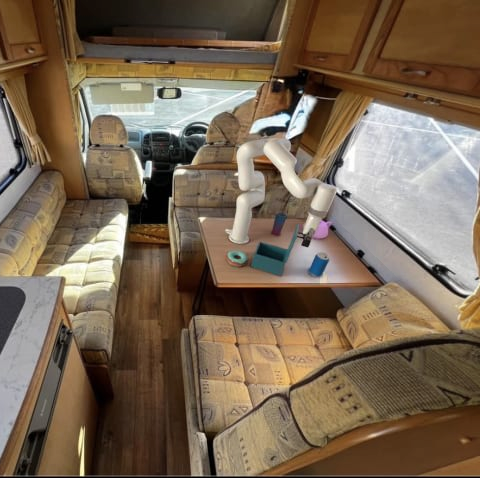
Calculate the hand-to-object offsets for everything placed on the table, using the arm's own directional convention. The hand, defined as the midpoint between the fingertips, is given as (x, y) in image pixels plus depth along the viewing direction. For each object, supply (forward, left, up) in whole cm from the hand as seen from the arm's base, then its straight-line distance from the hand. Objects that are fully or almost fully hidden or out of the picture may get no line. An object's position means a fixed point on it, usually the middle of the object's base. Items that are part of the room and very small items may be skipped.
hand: (305, 241), depth 129 cm
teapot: (+8, +47, -21) cm, 52 cm away
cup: (-14, +35, -21) cm, 43 cm away
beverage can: (+11, +5, -21) cm, 24 cm away
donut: (-29, -6, -21) cm, 36 cm away
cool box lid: (-6, 0, -3) cm, 6 cm away
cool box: (-13, 0, -21) cm, 25 cm away
